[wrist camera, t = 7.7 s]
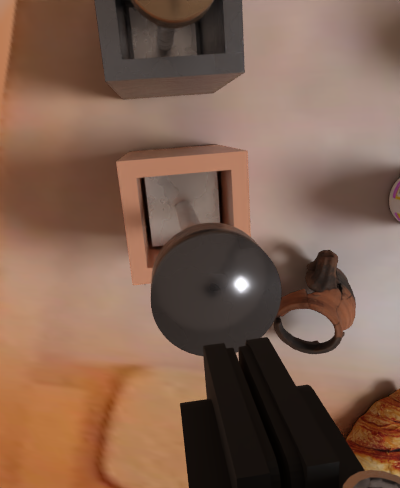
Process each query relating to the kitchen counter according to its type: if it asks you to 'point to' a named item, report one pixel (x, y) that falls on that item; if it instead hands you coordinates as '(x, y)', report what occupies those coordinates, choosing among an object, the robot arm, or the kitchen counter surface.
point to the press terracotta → (172, 163)
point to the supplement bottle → (395, 200)
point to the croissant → (378, 436)
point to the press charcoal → (178, 67)
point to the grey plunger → (206, 268)
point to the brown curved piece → (320, 303)
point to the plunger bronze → (165, 27)
